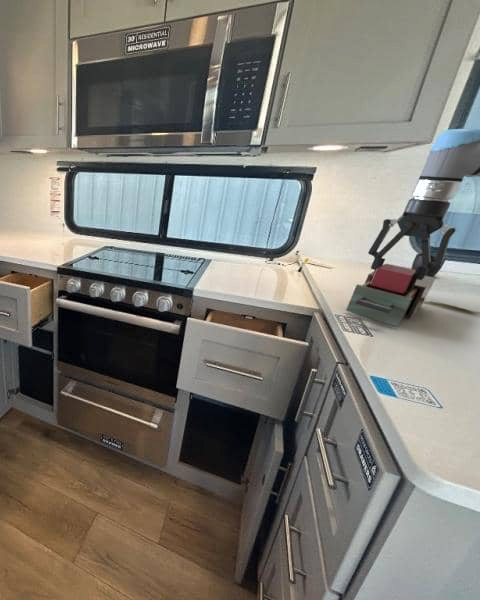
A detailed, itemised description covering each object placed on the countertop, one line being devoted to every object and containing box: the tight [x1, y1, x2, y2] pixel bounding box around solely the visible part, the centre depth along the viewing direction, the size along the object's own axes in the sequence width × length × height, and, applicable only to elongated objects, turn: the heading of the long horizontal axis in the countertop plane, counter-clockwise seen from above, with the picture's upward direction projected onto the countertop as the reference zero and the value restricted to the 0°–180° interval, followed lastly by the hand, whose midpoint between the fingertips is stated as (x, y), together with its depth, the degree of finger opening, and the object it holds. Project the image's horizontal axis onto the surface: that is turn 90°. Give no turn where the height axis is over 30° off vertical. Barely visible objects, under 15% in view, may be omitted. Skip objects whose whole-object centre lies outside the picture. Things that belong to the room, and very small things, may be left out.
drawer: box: [345, 281, 419, 328], centre depth 91 cm, size 21×11×8 cm, turn 128°
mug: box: [411, 253, 447, 278], centre depth 131 cm, size 8×12×10 cm
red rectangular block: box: [370, 263, 416, 293], centre depth 90 cm, size 7×9×5 cm
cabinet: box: [364, 271, 437, 320], centre depth 100 cm, size 17×13×10 cm
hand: (390, 285), depth 91 cm, fingers closed on red rectangular block, 7 cm apart
